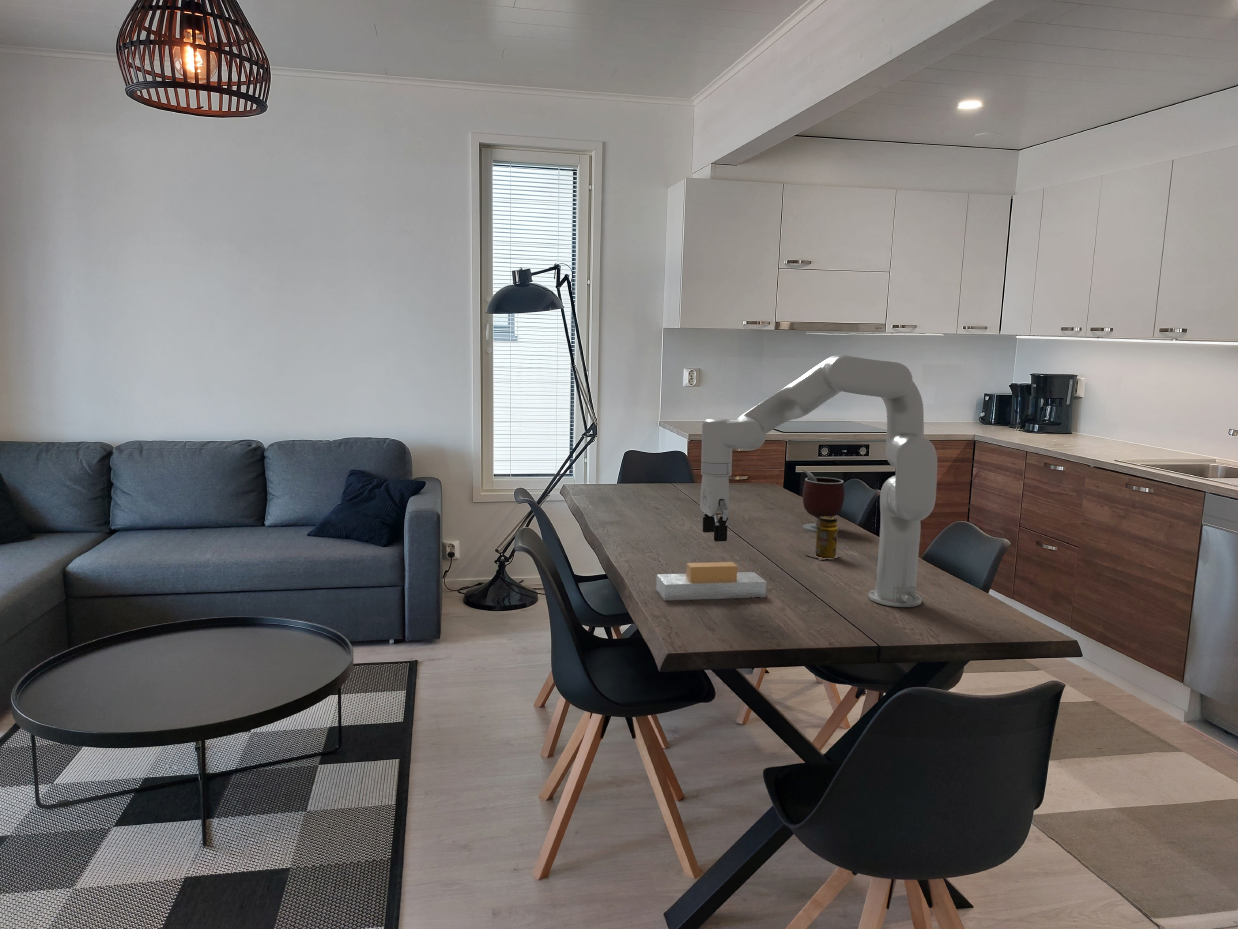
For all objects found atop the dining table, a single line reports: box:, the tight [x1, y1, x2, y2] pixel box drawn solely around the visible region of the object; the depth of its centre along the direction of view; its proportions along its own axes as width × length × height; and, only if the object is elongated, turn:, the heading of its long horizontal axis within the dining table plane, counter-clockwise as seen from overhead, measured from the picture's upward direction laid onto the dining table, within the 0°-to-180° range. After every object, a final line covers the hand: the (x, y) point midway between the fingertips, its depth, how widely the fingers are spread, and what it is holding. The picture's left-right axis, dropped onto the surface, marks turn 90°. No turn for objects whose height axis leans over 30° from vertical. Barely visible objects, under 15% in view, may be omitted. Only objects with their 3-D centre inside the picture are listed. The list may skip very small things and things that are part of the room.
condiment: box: [814, 516, 839, 558], centre depth 254 cm, size 7×8×12 cm
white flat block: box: [655, 571, 767, 601], centre depth 214 cm, size 9×26×4 cm, turn 101°
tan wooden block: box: [685, 561, 738, 581], centre depth 214 cm, size 4×12×7 cm, turn 100°
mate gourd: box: [802, 468, 845, 533], centre depth 292 cm, size 16×14×20 cm
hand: (714, 536), depth 212 cm, fingers open, 9 cm apart
